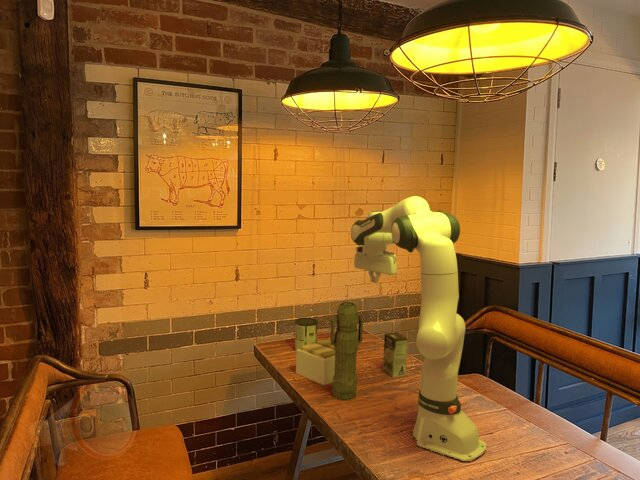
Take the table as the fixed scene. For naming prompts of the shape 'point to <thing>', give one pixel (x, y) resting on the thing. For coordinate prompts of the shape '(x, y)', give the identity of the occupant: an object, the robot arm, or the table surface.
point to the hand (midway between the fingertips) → (374, 282)
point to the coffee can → (305, 331)
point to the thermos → (346, 350)
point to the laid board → (318, 350)
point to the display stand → (315, 367)
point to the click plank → (326, 343)
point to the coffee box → (395, 354)
